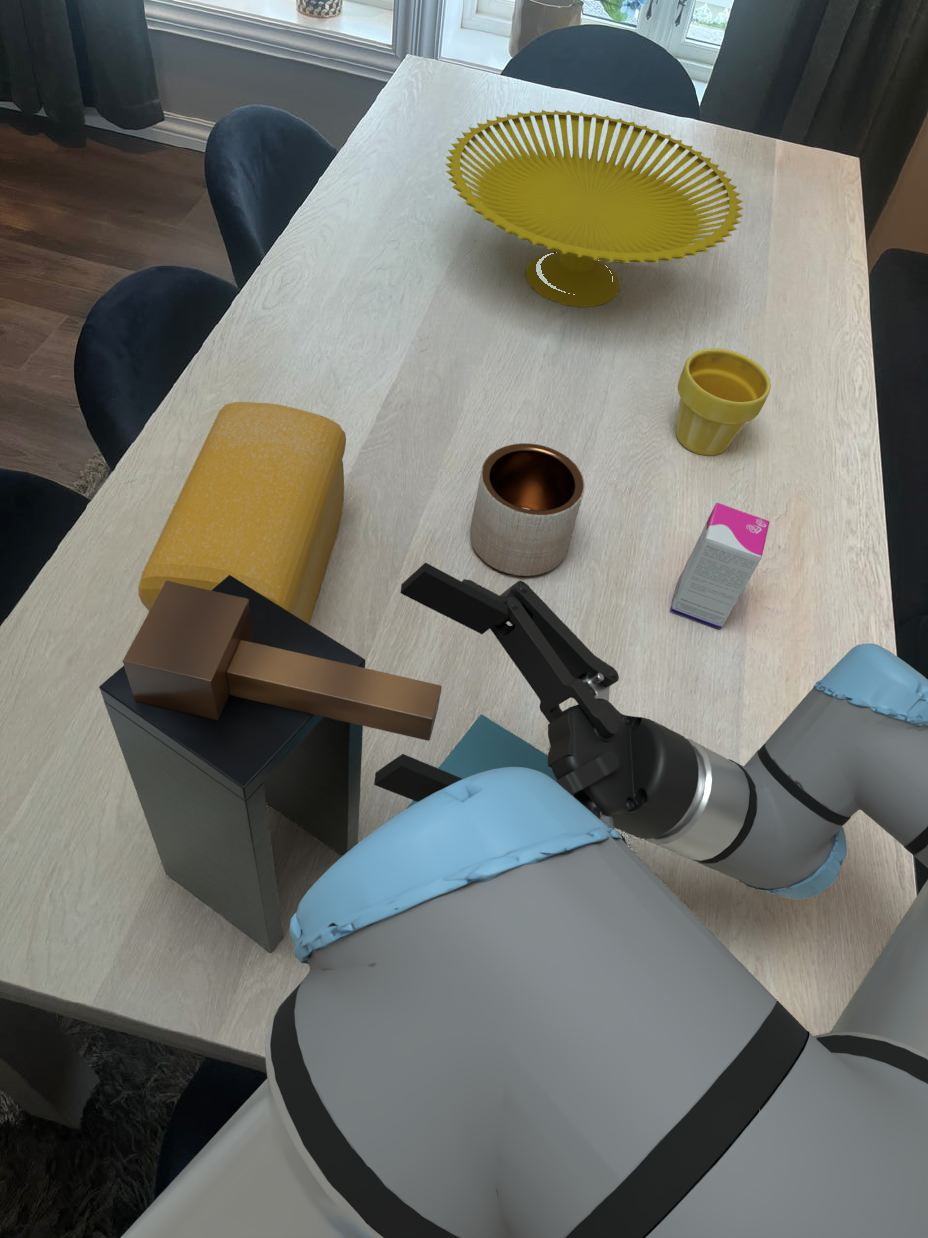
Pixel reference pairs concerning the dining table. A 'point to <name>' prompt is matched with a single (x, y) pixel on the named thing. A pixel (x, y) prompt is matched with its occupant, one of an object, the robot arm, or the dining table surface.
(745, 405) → the flower pot
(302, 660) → the mallet
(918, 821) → the robot arm
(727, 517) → the supplement box
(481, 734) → the lid
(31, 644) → the dining table surface
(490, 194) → the cake stand
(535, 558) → the planter
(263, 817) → the black arch block
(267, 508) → the bread
